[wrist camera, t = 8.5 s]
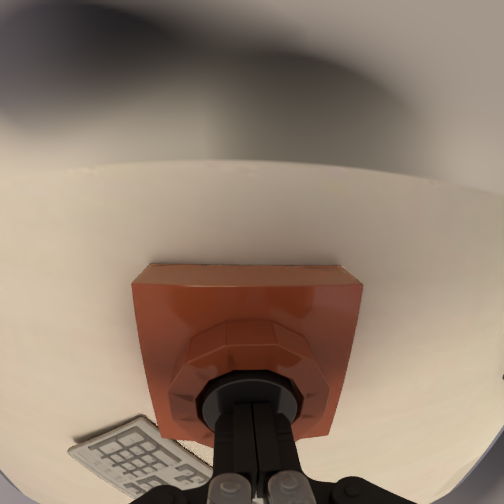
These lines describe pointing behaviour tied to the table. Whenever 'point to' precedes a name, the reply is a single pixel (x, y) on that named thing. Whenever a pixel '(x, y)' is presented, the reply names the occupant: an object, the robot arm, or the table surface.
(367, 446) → the table surface
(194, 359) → the button base
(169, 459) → the keyboard
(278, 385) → the black button cap
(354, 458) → the table surface
